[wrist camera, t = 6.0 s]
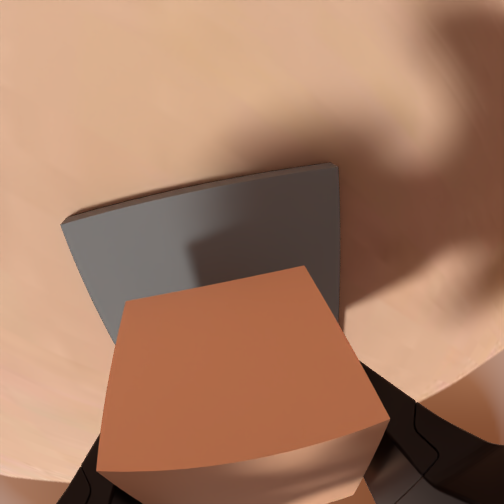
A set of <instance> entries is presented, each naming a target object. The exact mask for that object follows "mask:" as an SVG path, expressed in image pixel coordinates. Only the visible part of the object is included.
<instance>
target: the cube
mask: <svg viewBox="0 0 504 504" xmlns="http://www.w3.org/2000/svg"><path fill="white" fill-rule="evenodd" d="M389 421H390V417H389V415H388V413H387V412H386V410H385V408H384V406H383V404H382V402H381V400H380V398H379V397H378V395H377V393H376V391H375V389H374V387H373V385H372V384H371V382H370V380H369V378H368V376H367V374H366V372H365V371H364V369H363V367H362V365H361V363H360V362H359V360H358V358H357V356H356V354H355V353H354V351H353V349H352V347H351V345H350V344H349V342H348V340H347V338H346V336H345V335H344V333H343V331H342V329H341V328H340V326H339V324H338V322H337V321H336V319H335V317H334V315H333V314H332V312H331V310H330V308H329V307H328V305H327V303H326V301H325V300H324V298H323V296H322V295H321V293H320V291H319V289H318V288H317V286H316V284H315V283H314V281H313V279H312V278H311V276H310V274H309V272H308V271H307V269H306V267H305V266H304V265H303V266H299V267H294V268H290V269H285V270H280V271H275V272H271V273H266V274H261V275H256V276H252V277H247V278H242V279H237V280H232V281H227V282H222V283H217V284H212V285H207V286H202V287H197V288H192V289H187V290H182V291H177V292H172V293H166V294H161V295H156V296H151V297H145V298H140V299H135V300H129V301H126V302H125V306H124V310H123V314H122V318H121V323H120V327H119V331H118V336H117V340H116V345H115V350H114V355H113V360H112V365H111V370H110V375H109V381H108V386H107V392H106V398H105V404H104V411H103V417H102V425H101V432H100V440H99V448H98V458H97V468H96V471H97V472H98V473H100V474H101V475H102V476H104V477H105V478H106V479H108V480H109V481H110V482H112V483H113V484H114V485H116V486H117V487H119V488H120V489H122V490H123V491H124V492H126V493H127V494H129V495H130V496H132V497H133V498H135V499H136V500H138V501H140V502H141V503H143V504H327V503H330V502H333V501H337V500H340V499H343V498H346V497H349V496H352V495H353V494H354V492H355V491H356V489H357V487H358V485H359V483H360V481H361V480H362V477H363V476H364V474H365V472H366V470H367V468H368V466H369V464H370V462H371V460H372V458H373V456H374V454H375V452H376V450H377V448H378V446H379V443H380V441H381V439H382V437H383V435H384V432H385V430H386V428H387V425H388V423H389Z"/></svg>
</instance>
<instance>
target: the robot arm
mask: <svg viewBox="0 0 504 504" xmlns="http://www.w3.org/2000/svg"><path fill="white" fill-rule="evenodd" d="M359 362H360V363H361V365H362V367H363V369H364V371H365V372H366V374H367V376H368V378H369V380H370V382H371V384H372V385H373V387H374V389H375V391H376V393H377V395H378V397H379V398H380V400H381V402H382V404H383V406H384V408H385V410H386V412H387V413H388V415H389V417H390V421H389V423H388V425H387V428H386V430H385V432H384V435H383V437H382V439H381V441H380V443H379V446H378V448H377V450H376V452H375V454H374V456H373V458H372V460H371V462H370V464H369V466H368V468H367V470H366V472H365V474H364V476H363V477H364V479H365V481H366V483H367V486H368V488H369V490H370V492H371V494H372V496H373V498H374V500H375V503H376V504H504V445H498V444H493V443H490V442H487V441H485V440H483V439H481V438H479V437H477V436H475V435H473V434H471V433H469V432H467V431H465V430H463V429H461V428H459V427H457V426H455V425H453V424H451V423H449V422H448V421H446V420H444V419H442V418H441V417H439V416H437V415H436V414H434V413H433V412H431V411H430V410H428V409H427V408H425V407H424V406H422V405H421V404H420V403H418V402H416V401H415V400H414V399H412V398H411V397H409V396H408V395H407V394H405V393H404V392H402V391H401V390H400V389H398V388H397V387H395V386H394V385H393V384H391V383H390V382H388V381H387V380H386V379H384V378H383V377H381V376H380V375H379V374H377V373H376V372H374V371H373V370H372V369H370V368H369V367H368V366H366V365H365V364H363V363H362V362H361V361H359ZM99 440H100V434H99V436H98V438H97V439H96V441H95V443H94V444H93V446H92V448H91V449H90V451H89V453H88V454H87V456H86V458H85V459H84V461H83V463H82V465H81V467H80V468H79V469H78V471H77V473H76V475H75V476H74V478H73V480H72V481H71V483H70V484H69V486H68V488H67V489H66V491H65V492H64V493H63V495H62V496H61V498H60V499H59V500H58V502H57V503H56V504H143V503H141V502H140V501H138V500H136V499H135V498H133V497H132V496H130V495H129V494H127V493H126V492H124V491H123V490H122V489H120V488H119V487H117V486H116V485H114V484H113V483H112V482H110V481H109V480H108V479H106V478H105V477H104V476H102V475H101V474H100V473H98V472H97V471H96V468H97V458H98V448H99Z"/></svg>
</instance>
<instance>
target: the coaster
mask: <svg viewBox="0 0 504 504" xmlns="http://www.w3.org/2000/svg"><path fill="white" fill-rule="evenodd" d="M61 228H62V230H63V233H64V236H65V238H66V241H67V244H68V246H69V249H70V251H71V254H72V256H73V258H74V261H75V263H76V266H77V268H78V270H79V273H80V275H81V277H82V279H83V282H84V284H85V286H86V288H87V290H88V293H89V295H90V297H91V299H92V301H93V303H94V305H95V307H96V309H97V311H98V313H99V315H100V317H101V319H102V321H103V323H104V325H105V327H106V329H107V331H108V333H109V335H110V336H111V338H112V340H113V342H114V344H115V345H116V340H117V336H118V331H119V327H120V323H121V318H122V314H123V310H124V306H125V302H126V301H129V300H135V299H140V298H145V297H151V296H156V295H161V294H166V293H172V292H177V291H182V290H187V289H192V288H197V287H202V286H207V285H212V284H217V283H222V282H227V281H232V280H237V279H242V278H247V277H252V276H256V275H261V274H266V273H271V272H275V271H280V270H285V269H290V268H294V267H299V266H303V265H304V266H305V267H306V269H307V271H308V272H309V274H310V276H311V278H312V279H313V281H314V283H315V284H316V286H317V288H318V289H319V291H320V293H321V295H322V296H323V298H324V300H325V301H326V303H327V305H328V307H329V308H330V310H331V312H332V314H333V315H334V317H335V319H336V321H337V322H338V318H339V292H340V195H339V170H338V166H336V165H334V164H333V163H323V164H316V165H309V166H302V167H296V168H289V169H283V170H276V171H270V172H264V173H258V174H253V175H247V176H242V177H236V178H231V179H226V180H220V181H215V182H210V183H205V184H200V185H196V186H191V187H186V188H182V189H177V190H172V191H168V192H164V193H159V194H155V195H151V196H146V197H142V198H138V199H134V200H130V201H126V202H122V203H118V204H114V205H111V206H107V207H103V208H99V209H96V210H92V211H88V212H85V213H81V214H78V215H74V216H71V217H67V218H66V219H65V220H64V221H63V222H62V224H61Z"/></svg>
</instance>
